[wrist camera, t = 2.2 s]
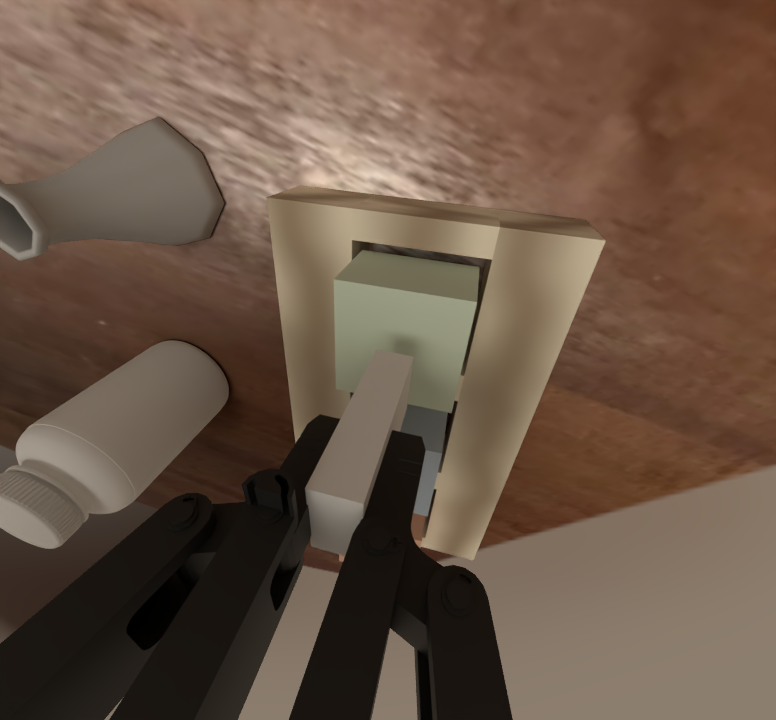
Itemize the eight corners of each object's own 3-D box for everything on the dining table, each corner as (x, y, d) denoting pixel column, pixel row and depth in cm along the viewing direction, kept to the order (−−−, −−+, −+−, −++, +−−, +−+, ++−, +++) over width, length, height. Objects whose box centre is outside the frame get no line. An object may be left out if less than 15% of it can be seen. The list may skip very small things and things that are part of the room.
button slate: (357, 446, 27) (338, 493, 24) (358, 385, 23) (336, 429, 20) (435, 464, 26) (427, 516, 23) (448, 403, 23) (441, 453, 19)
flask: (245, 207, 23) (111, 256, 15) (183, 261, 26) (46, 325, 18) (158, 89, 20) (-66, 68, 12) (101, 166, 23) (-103, 191, 15)
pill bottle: (191, 325, 29) (-20, 470, 17) (248, 398, 33) (106, 563, 21) (135, 350, 33) (-75, 486, 20) (192, 414, 36) (42, 564, 24)
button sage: (359, 347, 22) (335, 388, 18) (362, 250, 18) (333, 279, 15) (457, 365, 21) (451, 413, 17) (479, 266, 17) (477, 302, 14)
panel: (320, 480, 37) (303, 514, 34) (300, 185, 21) (266, 197, 18) (474, 519, 35) (473, 560, 31) (585, 219, 19) (605, 240, 15)
